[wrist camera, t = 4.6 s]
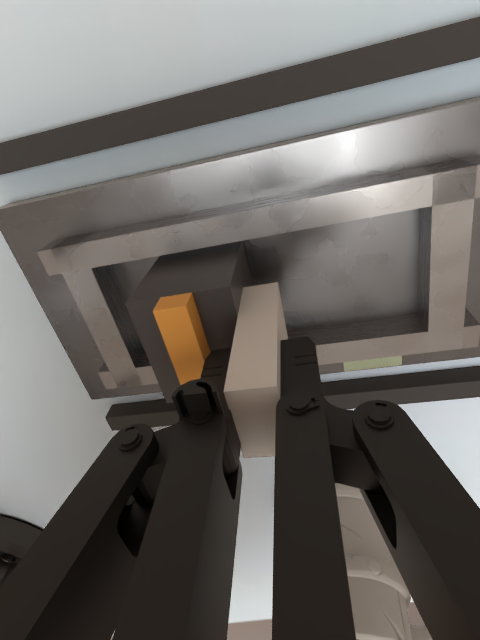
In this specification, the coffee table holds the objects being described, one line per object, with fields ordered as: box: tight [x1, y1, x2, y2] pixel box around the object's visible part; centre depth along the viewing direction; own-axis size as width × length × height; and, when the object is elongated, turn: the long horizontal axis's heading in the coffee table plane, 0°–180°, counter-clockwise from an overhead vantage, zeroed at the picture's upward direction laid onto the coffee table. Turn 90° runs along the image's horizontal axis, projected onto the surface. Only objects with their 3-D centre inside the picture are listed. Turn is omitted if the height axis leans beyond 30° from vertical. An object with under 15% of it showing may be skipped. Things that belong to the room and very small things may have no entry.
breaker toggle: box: [125, 241, 253, 403], centre depth 17 cm, size 4×5×6 cm
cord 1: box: [106, 366, 480, 431], centre depth 24 cm, size 24×1×1 cm, turn 102°
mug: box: [335, 483, 432, 640], centre depth 24 cm, size 8×12×12 cm, turn 107°
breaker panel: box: [0, 97, 480, 399], centre depth 19 cm, size 24×12×3 cm, turn 102°
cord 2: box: [0, 17, 480, 175], centre depth 16 cm, size 24×1×1 cm, turn 102°
